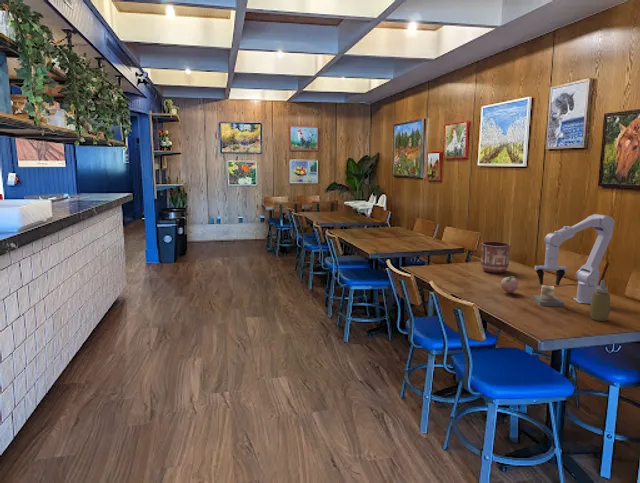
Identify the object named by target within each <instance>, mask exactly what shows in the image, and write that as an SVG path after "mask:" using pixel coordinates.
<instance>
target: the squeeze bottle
mask: <svg viewBox="0 0 640 483" xmlns="http://www.w3.org/2000/svg"><path fill="white" fill-rule="evenodd" d="M598 286H599V287H596V292H594V293H593V296H592V300H591V304H590V305H589V308H588V309H589V310H588V311H589V315H590V318H591V320H594V321H598V322H607V320H608V319H609V316H610V314H611V294H610V293H609V288H607V287H606V282H605V279H602V280H600V284H599V285H598Z"/></svg>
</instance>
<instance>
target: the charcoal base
mask: <svg viewBox="0 0 640 483" xmlns="http://www.w3.org/2000/svg"><path fill="white" fill-rule="evenodd" d="M532 300H533V301H534V302H535V303H536V304H538V305H539V306H543V307H564V306H565V304H564V303H565V302H564V301H562V299H560V298H558V297H557V296H556V295H554V298H553V301H550V300H542V299H541V294H539V295H538V294H532Z"/></svg>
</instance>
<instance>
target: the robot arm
mask: <svg viewBox="0 0 640 483" xmlns="http://www.w3.org/2000/svg"><path fill="white" fill-rule="evenodd" d="M615 224H616V223H615V220H614V218H613V217H611V215H605V214H600V213H599V214H598V213H593V214H591V215H588V216H587V218H585V219H583V220H581V221H579V222H578V223H576V224H574V225H572V226H569V225H567V226H566V225H564V226H562V228H560V229H558V230H554V232H549V233H547V234H546V235H545V237H544V238H543V242H544V244H545V254H544V255H545V256H544V265H542V264H541V265H534V270H535V272H536V274H537V276H538V280H539V284H540V285H541V286H542V285H544V284H543V283H544V275H545V272H544V271H555V273H556V278H555V285H556V286H560V283H561V281H562V279H563V277H564V276H565V274H566V272H567V271H568V267H567V266H565V265H564V266H561V265H558V264H559V263H558V262H559V252H560V246H561V245H562V244H563V242H565V241H567V240H569V239H571V238H573V237H575V234H576V233H578V232H581V231H583V230H586V229H588V228H591V227H592V228H593V229H594V230H595V231H596V233H597V234H598V235H597V237H596V240H595V242H594V244H593V246H592V249H591V250H590V253H589V256H588V258H587V261H586V262H585V264H582V265H581V266H580V268H579V269H578V270H577V271H576V272H575V280H577V288H576V289H577V290H576V297H573V300H574V301H576V302H577V303H579V304H587V305H588V304H590V305H591V300H592V296H593V293H594V292H596V287H599V286H600V285H599V284H598V283H599V281H600V278H599V277H600V274H601V272H600V270H599V266H600V264H601V261H602V259H603V257H604V255H605V253H606V250H607V248H608V246H609V243H610V241H611V239H612V237H613V234H614V231H613V230H614V229H613V228H614V226H615Z"/></svg>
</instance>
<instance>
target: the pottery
mask: <svg viewBox="0 0 640 483" xmlns="http://www.w3.org/2000/svg"><path fill="white" fill-rule="evenodd" d="M480 245H481V246H480V247H481V252H480V253H481V255H480V256H481V257H480V266H481V268H482V269H483V271H484V272H486V273H489V274H502V273H504V272H506V271H507V270H508V268H509V261H510V252H511V243H508V242H503V241H490V240H489V241H483V242H481V244H480Z"/></svg>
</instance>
